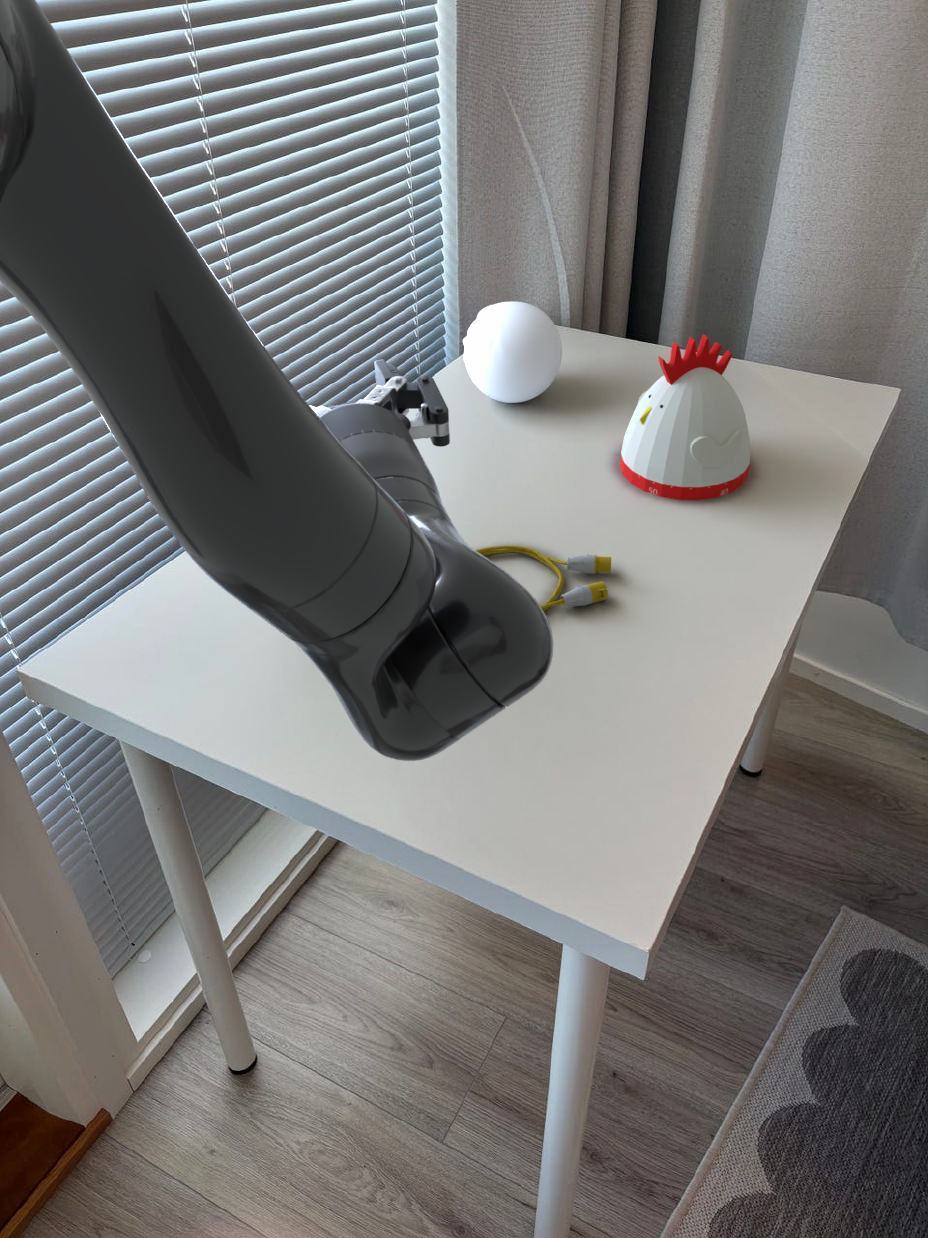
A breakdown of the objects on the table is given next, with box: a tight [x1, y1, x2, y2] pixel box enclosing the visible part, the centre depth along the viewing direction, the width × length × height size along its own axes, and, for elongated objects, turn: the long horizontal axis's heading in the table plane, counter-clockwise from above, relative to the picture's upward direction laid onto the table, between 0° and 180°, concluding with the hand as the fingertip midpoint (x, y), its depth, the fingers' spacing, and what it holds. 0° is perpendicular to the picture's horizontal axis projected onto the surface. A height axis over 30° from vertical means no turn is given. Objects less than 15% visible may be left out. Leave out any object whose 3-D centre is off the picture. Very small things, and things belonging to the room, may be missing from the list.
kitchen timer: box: [619, 334, 751, 501], centre depth 100 cm, size 14×14×15 cm
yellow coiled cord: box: [475, 545, 612, 612], centre depth 89 cm, size 12×16×2 cm
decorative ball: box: [462, 300, 563, 404], centre depth 116 cm, size 12×12×12 cm
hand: (322, 380), depth 70 cm, fingers open, 8 cm apart
